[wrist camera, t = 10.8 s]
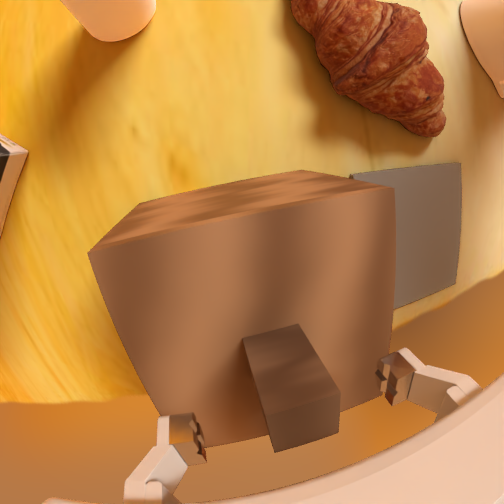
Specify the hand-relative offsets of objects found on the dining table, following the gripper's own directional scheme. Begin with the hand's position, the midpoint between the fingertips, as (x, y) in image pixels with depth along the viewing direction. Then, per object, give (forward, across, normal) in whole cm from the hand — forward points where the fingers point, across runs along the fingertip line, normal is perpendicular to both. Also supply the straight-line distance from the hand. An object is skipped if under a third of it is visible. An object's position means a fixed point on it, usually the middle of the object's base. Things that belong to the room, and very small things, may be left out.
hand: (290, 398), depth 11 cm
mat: (+17, -20, +2) cm, 26 cm away
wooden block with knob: (+17, 0, 0) cm, 17 cm away
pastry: (+17, -16, -18) cm, 30 cm away
